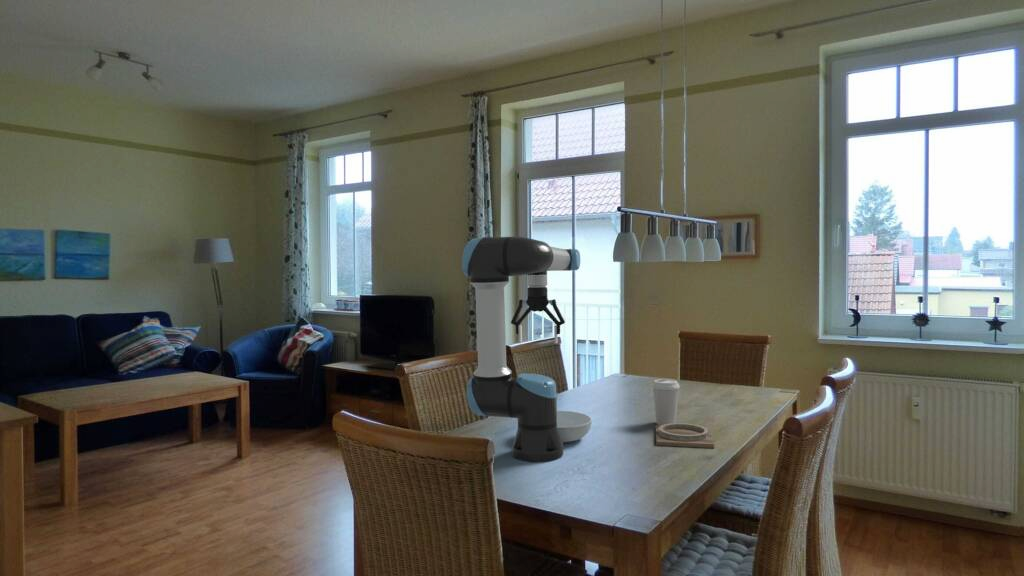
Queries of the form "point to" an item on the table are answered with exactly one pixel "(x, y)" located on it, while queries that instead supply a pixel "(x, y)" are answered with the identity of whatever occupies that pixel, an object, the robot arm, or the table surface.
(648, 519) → the table surface
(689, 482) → the table surface
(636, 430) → the table surface
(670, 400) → the coffee cup
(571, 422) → the serving bowl
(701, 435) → the carrier board
